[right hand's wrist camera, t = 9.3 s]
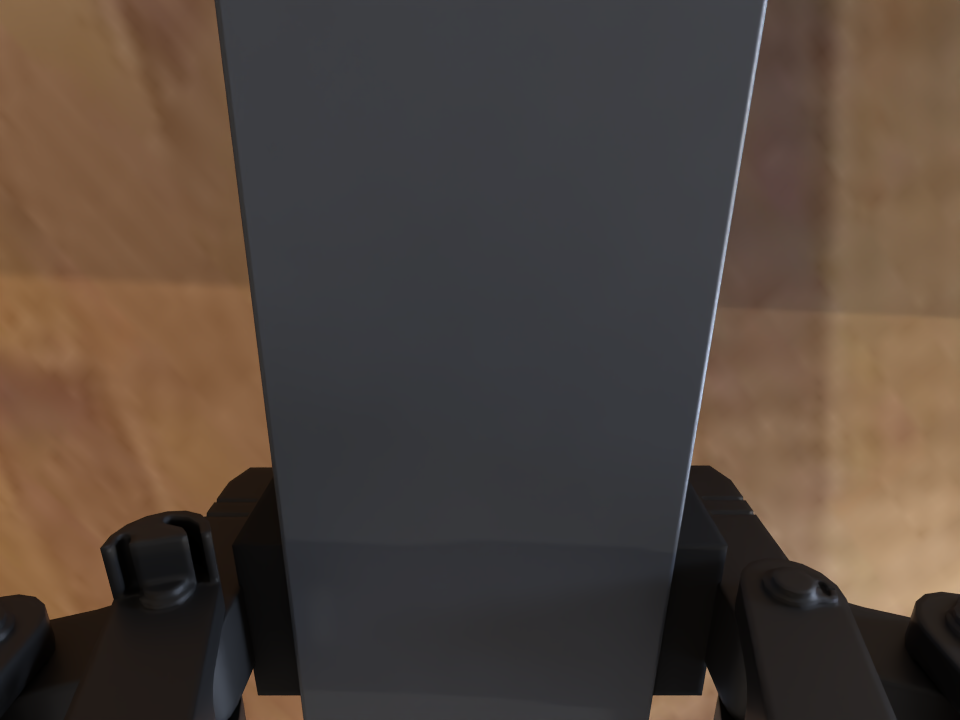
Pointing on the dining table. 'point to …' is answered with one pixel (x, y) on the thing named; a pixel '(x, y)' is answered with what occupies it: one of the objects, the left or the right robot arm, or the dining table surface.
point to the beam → (484, 332)
